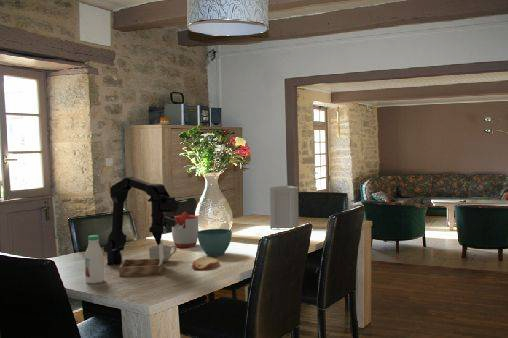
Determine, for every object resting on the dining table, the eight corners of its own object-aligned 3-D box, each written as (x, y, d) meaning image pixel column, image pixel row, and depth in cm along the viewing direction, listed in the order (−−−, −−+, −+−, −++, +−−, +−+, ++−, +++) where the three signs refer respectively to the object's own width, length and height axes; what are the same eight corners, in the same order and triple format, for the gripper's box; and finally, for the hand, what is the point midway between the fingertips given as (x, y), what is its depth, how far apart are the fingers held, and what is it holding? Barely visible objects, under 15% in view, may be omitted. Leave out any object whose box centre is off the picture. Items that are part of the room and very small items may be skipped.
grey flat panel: (158, 245, 243) (159, 245, 243) (161, 239, 258) (162, 239, 258) (159, 264, 244) (160, 264, 244) (162, 257, 259) (163, 257, 259)
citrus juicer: (166, 249, 302) (165, 213, 301) (177, 243, 319) (176, 209, 318) (192, 249, 299) (191, 213, 298) (203, 243, 315) (202, 209, 314)
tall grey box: (303, 226, 370) (302, 186, 368) (296, 230, 356) (296, 187, 355) (277, 225, 377) (276, 185, 376) (269, 229, 363) (268, 187, 362)
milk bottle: (106, 279, 237) (104, 234, 236) (101, 283, 230) (100, 237, 229) (88, 279, 237) (86, 234, 236) (83, 284, 230) (81, 237, 229)
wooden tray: (119, 276, 242) (119, 267, 242) (125, 267, 258) (124, 259, 258) (159, 274, 244) (159, 265, 243) (163, 266, 259) (162, 258, 259)
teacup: (149, 265, 263) (149, 248, 263) (148, 260, 274) (147, 244, 273) (178, 262, 267) (178, 246, 267) (175, 258, 277) (175, 242, 277)
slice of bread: (209, 260, 273) (209, 252, 272) (230, 266, 259) (230, 258, 258) (178, 265, 261) (178, 258, 261) (199, 272, 247) (198, 264, 247)
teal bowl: (227, 258, 274) (226, 234, 273) (193, 258, 277) (192, 234, 277) (235, 251, 291) (235, 228, 291) (203, 250, 295) (202, 228, 294)
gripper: (173, 213, 241) (174, 247, 242) (176, 208, 260) (177, 241, 261) (148, 214, 241) (149, 248, 241) (153, 209, 259) (154, 241, 260)
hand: (158, 244), depth 251 cm, fingers closed, pressing on grey flat panel
